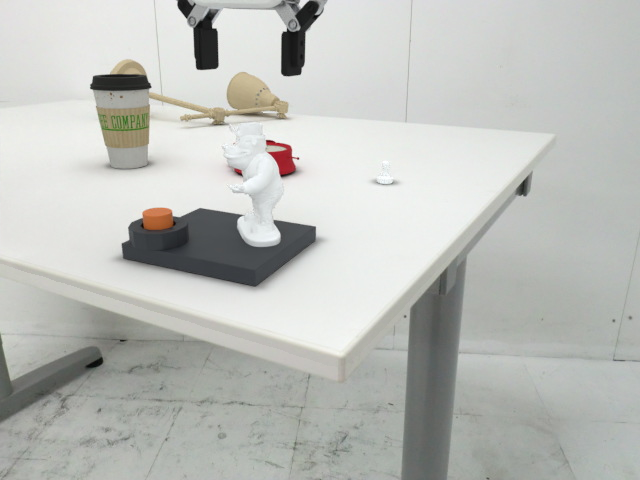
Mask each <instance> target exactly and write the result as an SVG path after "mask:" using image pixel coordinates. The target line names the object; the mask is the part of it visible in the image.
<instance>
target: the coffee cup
mask: <svg viewBox="0 0 640 480" xmlns="http://www.w3.org/2000/svg"><path fill="white" fill-rule="evenodd" d="M147 78H148V75H147V76H146V75H140V74H110V73H109V74H108V73H107V74H96V75H92V80H91V83H90V84H89V89H90V90H92V93H93V96H94V100H95V109H96V113H97V117H98V122H99V124H100V131H101V134H102V139H103V142H104V146H105V147H106V153H107V156H108V161H109V164H110V167H111V168H114V169H124V170H125V169H126V170H127V169H138V168H142V167H145V166H147V165H148V164H149V144H150V117H151V104H150V98H149V92H150V89H152V88H153V87H152V84H151V82H149V79H147Z"/></svg>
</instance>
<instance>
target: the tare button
mask: <svg viewBox="0 0 640 480" xmlns="http://www.w3.org/2000/svg"><path fill="white" fill-rule="evenodd" d="M141 213H142V214H141V215H142V218H143V225H144V229H148V230H162V229H167V228H171V227H173V216H174V215H173V210H172V209H171V208H168V207H151V208H147V209H145V210H143V211H142V212H141Z"/></svg>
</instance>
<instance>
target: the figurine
mask: <svg viewBox="0 0 640 480" xmlns="http://www.w3.org/2000/svg"><path fill="white" fill-rule="evenodd" d="M236 128H237V129H236ZM236 128H235V127H234V126H233V125H232V124H231V123H229V124H228V129H229V131H230V132H232V133H233V134H234V135H236V137H235V142H234V143H235V144H233V143H231V144H230V143H223V144H222V145H221V149H222V150H223V153H222V156H223V157H224V158H225V159H226V163H227V165H228V166H229V167H231V168H233V169H234V168H236V169H239V170H242V174H241V175H242V184H239V183H236V184H234V185H232V184H230V183H227V184H226V186H227V187H228V188H229V190H231V192H232V193H233V194H243V195H248V196H249V198H250V199H251V202H252V208H253V209H252V210H253V211H247V212H246V213H244V214H243V215H244V216H241V217H240V218H239V219H238V221H237V228H238V230H239V233H240V235H241V237H242V239H243V240H244V241H245V242H246V243H247V244H249V245H251V246H255V247H269V246H274V245H277V244H279V243H280V240H281V235H280V232H279V230H278V229H277V227H276V226H275V224H274V221H273V220H274V214H273V211H274V209H275V208H276V206H277V205H278V203H279V202H281V201H280V200H281V199H282V198H283V196H284V194H285V185H284V180H283V179H282V176H281V177H280V174H279V168H278V165H277V163H276V161H275V160H274V158H273V157H272V156H271V155H270V154H269V153H267V152H266V151H265V150H266V147H267V145H266V140H267V136H265V134H264V131H263V124H262V123H261V122H258V121H248V122H247V121H246V122H241V123H238V124H237V126H236Z"/></svg>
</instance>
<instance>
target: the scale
mask: <svg viewBox="0 0 640 480" xmlns="http://www.w3.org/2000/svg"><path fill="white" fill-rule="evenodd" d="M244 215H245V214H242V213H241V214H240V213H235V212H228V211H222V210H215V209H209V208H203V207H199V208H196V209H193V210H192V211H190V212H188V213H186V214H183V215H181V216H175V215H173V227H171V228H167V229H162V230H148V229H144V225H143V217H140V218H138V219H136V220H133V221H131V222H130V224H129V225H128V226H127V231H128V240H125V241H124V242H121V251H122V253H121V254H122V258H123V259H125V260H130V261H134V262H140V263H144V264H149V265H153V266H159V267H162V268H168V269H172V270H177V271H182V272H186V273H191V274H196V275H201V276H206V277H209V278H215V279H219V280H223V281H229V282H234V283H238V284H244V285H248V286H253V287H256V286H257V285H259V284H261V283H262V282H263V281H265V280H266V279H267V278H268V277H269V276H271V275H272V274H274V273H275V272H276V271H277V270H278V269H280V268H281V267H282V266H284V265H285V264H287V263H288V262H289V261H290V260H292V259H293V258H294V257H295V256H297V255H298V254H300V253H301V252H302V251H303V250H305V249H306V248H308V246H310V245H311V244H313V243H314V242H315V241H316V240H317V226H315V225H310V224H303V223H298V222H290V221H285V220H279V219H273V221H274V224H275V226H276V227H277V229H278V230H279V232H280V235H281V240H280V243H279V244H277V245H274V246H269V247H255V246H251V245H249V244H247V243H246V242H245V241H244V240H243V239H242V237H241V235H240V233H239V230H238V228H237V221H238V219H239V218H240V217H241V216H244Z"/></svg>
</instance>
